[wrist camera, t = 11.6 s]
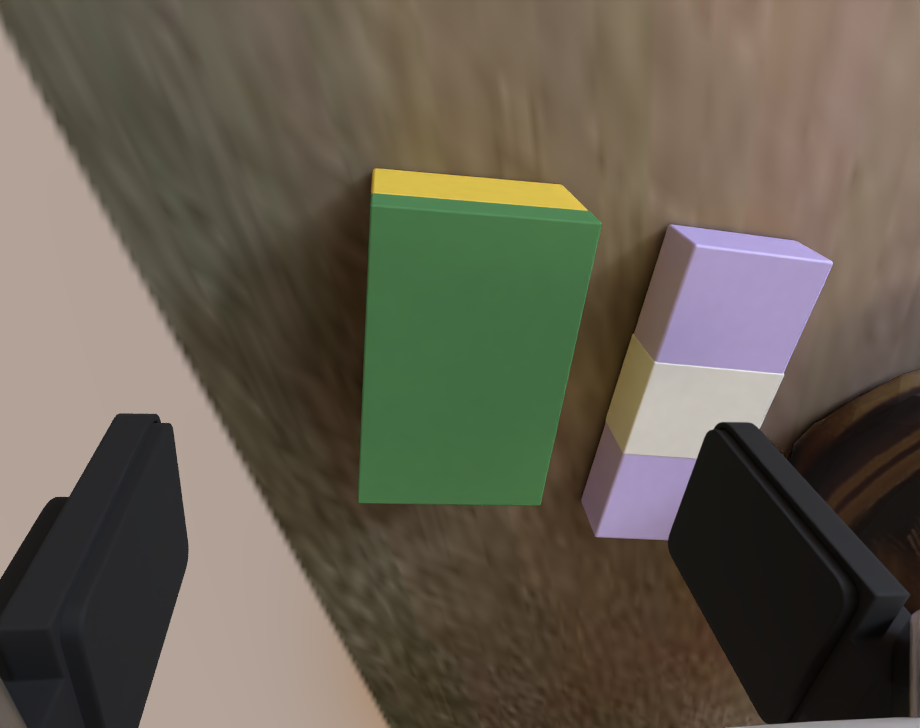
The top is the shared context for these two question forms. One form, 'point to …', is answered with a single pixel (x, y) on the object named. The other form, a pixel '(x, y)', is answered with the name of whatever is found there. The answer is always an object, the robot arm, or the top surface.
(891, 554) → the ceramic jug
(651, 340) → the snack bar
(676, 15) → the top surface
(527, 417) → the sponge
